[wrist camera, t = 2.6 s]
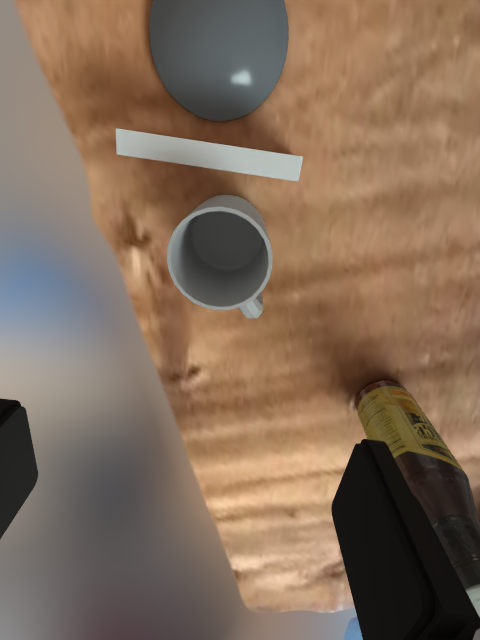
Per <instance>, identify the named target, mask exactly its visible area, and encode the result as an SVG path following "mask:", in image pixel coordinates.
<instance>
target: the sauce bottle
mask: <svg viewBox="0 0 480 640" xmlns="http://www.w3.org/2000/svg"><path fill="white" fill-rule="evenodd" d="M356 407H357V411H358V416H359V419H360V421H361V424H362V426H363V428H364V431H365V433H366V436H367V439H369V440H378V441H384V442H386V444H387V445H388V447H389V449H390V451H391V453H392V455H393V457H394V459H395V461H396V463H397V465H398V467H399V468H400V470H401V472H402V474H403V476H404V478H405V480H406V482H407V484H408V486H409V488H410V490H411V492H412V494H413V495H414V496H416V497H417V499H418V500H419V502H420V503H421V505H422V507H423V509H424V511H425V513H426V515H427V517H428V519H429V521H430V523H431V525H432V526H433V528H434V530H435V532H436V534H437V536H438V538H439V540H440V542H441V544H442V546H443V548H444V550H445V552H446V553H447V555H448V557H449V559H450V561H451V563H452V565H453V567H454V569H455V571H456V573H457V575H458V577H459V579H460V580H461V582H462V584H463V586H464V588H465V590H466V592H467V594H468V596H469V598H470V600H471V602H472V604H473V606H474V607H475V609H476V611H477V613H478V615H479V617H480V523H479V519H478V515H477V511H476V507H475V503H474V500H473V496H472V492H471V488H470V484H469V480H468V477H467V475H466V474H465V472H464V471H463V470H462V468H461V466H460V465H459V464H458V462H457V461H456V459H455V458H454V456H453V455H452V453H451V452H450V450H449V449H448V448H447V446H446V444H445V443H444V441H443V440H442V439H441V437H440V436H439V434H438V433H437V431H436V430H435V428H434V427H433V425H432V424H431V423H430V421H429V420H428V418H427V417H426V415H425V414H424V412H423V411H422V409H421V408H420V407H419V405H418V404H417V402H416V401H415V399H414V398H413V397H412V395H411V394H410V393H409V392H408V391H407V390H406V389H405V388H404V387H403V386H401V385H400V384H398V383H396V382H392V381H389V380H382V381H380V382H375V383H371V384H370V385H368V386H366V387H365V388H364V389H363V390H362V391H361V392H360V393H359V395H358V397H357V399H356Z"/></svg>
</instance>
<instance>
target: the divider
mask: <svg viewBox="0 0 480 640" xmlns="http://www.w3.org/2000/svg"><path fill="white" fill-rule="evenodd" d="M116 151H117V154H118V155H124V156H131V157H138V158H144V159H151V160H158V161H165V162H171V163H178V164H185V165H191V166H198V167H205V168H212V169H218V170H225V171H232V172H238V173H245V174H252V175H259V176H265V177H272V178H279V179H285V180H292V181H298V180H299V175H300V170H301V165H302V160H303V157H301V156H295V155H288V154H282V153H275V152H268V151H262V150H255V149H249V148H242V147H236V146H229V145H222V144H216V143H209V142H203V141H196V140H190V139H183V138H176V137H170V136H163V135H157V134H150V133H144V132H137V131H130V130H124V129H117V128H116Z"/></svg>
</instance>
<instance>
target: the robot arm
mask: <svg viewBox="0 0 480 640" xmlns="http://www.w3.org/2000/svg"><path fill="white" fill-rule="evenodd" d="M37 478H38V470H37V465H36V460H35V455H34V449H33V444H32V439H31V434H30V429H29V423H28V418H27V413H26V409H25V408H24V407H22V406H21V404H20V402H19V401H16V400H8V399H0V539H1V537H2V536H3V534H4V533H5V531H6V530H7V528H8V527H9V525H10V523H11V522H12V520H13V519H14V517H15V516H16V514H17V513H18V511H19V509H20V508H21V506H22V505H23V503H24V502H25V500H26V499H27V497H28V496H29V494H30V493H31V491H32V489H33V488H34V486H35V484H36V481H37ZM332 517H333V521H334V525H335V529H336V533H337V537H338V541H339V545H340V549H341V553H342V557H343V561H344V565H345V569H346V573H347V577H348V581H349V585H350V589H351V593H352V597H353V601H354V605H355V609H356V613H357V617H358V621H359V625H360V629H361V633H362V637H363V640H480V617H479V615H478V613H477V611H476V609H475V607H474V606H473V604H472V602H471V600H470V598H469V596H468V594H467V592H466V590H465V588H464V586H463V584H462V582H461V580H460V579H459V577H458V575H457V573H456V571H455V569H454V567H453V565H452V563H451V561H450V559H449V557H448V555H447V553H446V552H445V550H444V548H443V546H442V544H441V542H440V540H439V538H438V536H437V534H436V532H435V530H434V528H433V526H432V525H431V523H430V521H429V519H428V517H427V515H426V513H425V511H424V509H423V507H422V505H421V503H420V502H419V500H418V499H417V497H416V496H414V495H413V494H412V492H411V490H410V488H409V486H408V484H407V482H406V480H405V478H404V476H403V474H402V472H401V470H400V468H399V467H398V465H397V463H396V461H395V459H394V457H393V455H392V453H391V451H390V449H389V447H388V445H387V444H386V442H384V441H378V440H369V439H363V440H362V441H361V443H360V444H356V445H355V446H354V449H353V452H352V454H351V457H350V459H349V462H348V464H347V467H346V469H345V472H344V474H343V477H342V480H341V482H340V485H339V487H338V490H337V492H336V495H335V497H334V500H333V503H332Z"/></svg>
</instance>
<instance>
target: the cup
mask: <svg viewBox="0 0 480 640" xmlns="http://www.w3.org/2000/svg"><path fill="white" fill-rule="evenodd" d="M167 263H168V268H169V273H170V275H171V277H172V279H173V282H174V284H175V285H176V286H177V288H178V289H179V290H180V291H181V293H182V294H183V295H184V296H186V297H187V298H188V299H189V300H191V301H192V302H193V303H196V304H198V305H200V306H202V307H205V308H209V309H214V310H230V309H234V308H237V307H238V308H239V310H240V311H241V312H242V313H243V314H244V315H245V316H246V317H247V318H258V317H259V316H260V315H261V313H262V312H263V298H262V294H261V291H262V290H263V289H264V287H265V285H266V284H267V282H268V280H269V278H270V274H271V270H272V266H273V265H272V250H271V246H270V242H269V238H268V234H267V230H266V227H265V223H264V220H263V218H262V216H261V215H260V213H259V212H258V210H257V209H256V208H255V207H254V206H253V205H252V204H251V203H250V202H249V201H247V200H245V199H243V198H241V197H238V196H234V195H229V194H228V195H217V196H215V197H212V198H209V199H207V200H205V201H204V202H203V203H201V204H200V205H199V206H198V207H196V208H195V209H194V210H193V211H192V212H191V213H190V214H189V215H188V216H187V217H186V218H184V219H183V220H182V221H181V223H180V224H179V225H178V226H177V228H176V229H175V230H174V232H173V234H172V236H171V239H170V242H169V244H168V251H167Z"/></svg>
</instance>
